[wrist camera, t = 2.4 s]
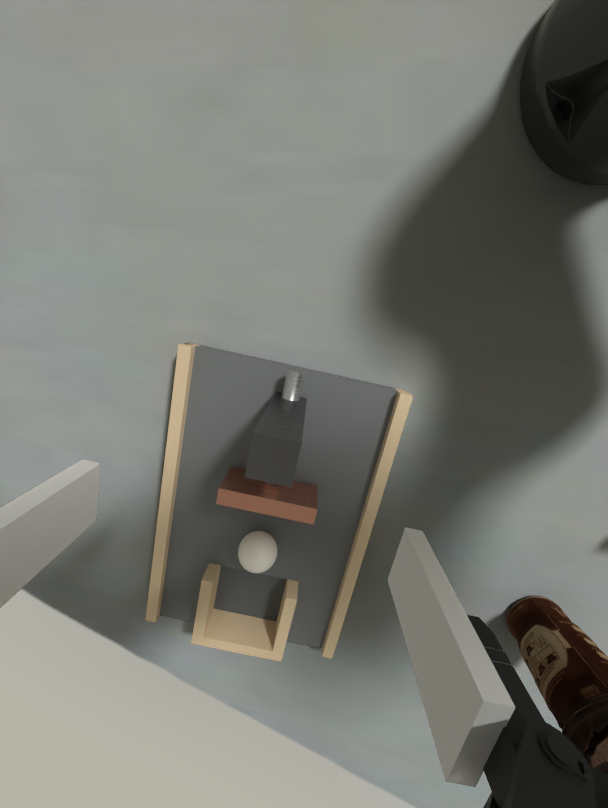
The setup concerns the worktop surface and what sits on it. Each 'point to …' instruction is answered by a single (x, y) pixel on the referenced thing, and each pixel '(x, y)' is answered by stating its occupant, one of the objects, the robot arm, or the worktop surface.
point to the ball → (257, 551)
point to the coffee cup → (565, 674)
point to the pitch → (226, 526)
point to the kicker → (274, 462)
